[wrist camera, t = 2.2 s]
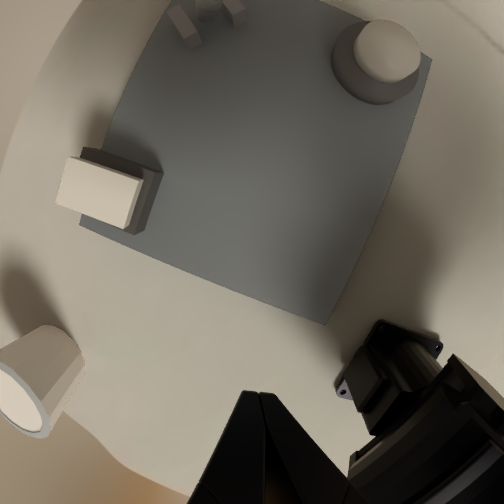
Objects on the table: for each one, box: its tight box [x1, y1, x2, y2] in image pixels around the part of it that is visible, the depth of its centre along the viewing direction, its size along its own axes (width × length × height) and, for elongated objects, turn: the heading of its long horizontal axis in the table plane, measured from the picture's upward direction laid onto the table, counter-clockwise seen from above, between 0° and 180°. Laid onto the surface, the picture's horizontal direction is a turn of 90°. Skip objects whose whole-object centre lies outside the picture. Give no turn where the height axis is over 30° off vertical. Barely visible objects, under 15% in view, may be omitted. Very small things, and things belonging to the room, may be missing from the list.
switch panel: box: [79, 0, 432, 325], centre depth 15 cm, size 16×18×3 cm
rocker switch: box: [56, 157, 143, 229], centre depth 14 cm, size 4×2×1 cm, turn 67°
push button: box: [353, 20, 421, 83], centre depth 12 cm, size 3×3×1 cm
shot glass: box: [0, 325, 85, 439], centre depth 18 cm, size 7×7×7 cm
